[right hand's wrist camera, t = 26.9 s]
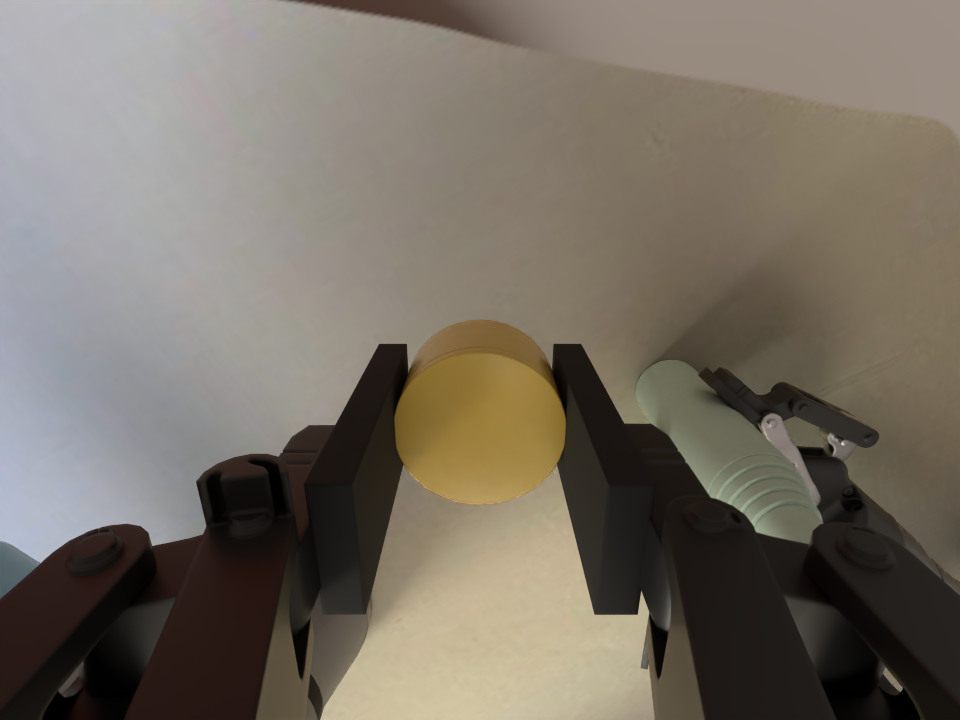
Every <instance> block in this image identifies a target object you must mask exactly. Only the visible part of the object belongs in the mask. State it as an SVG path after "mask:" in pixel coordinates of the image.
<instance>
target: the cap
mask: <svg viewBox="0 0 960 720" xmlns="http://www.w3.org/2000/svg"><path fill="white" fill-rule="evenodd" d="M394 421H395V437H396V448H397V451H398V454H399V456H400V458H401V460H402V462H403V464H404V465H405V467H406V468H407V470H408V471H409V472H410V474H411V475H412V476H413V477H414V478H415V479H416V480H417V481H418V482H419V483H421V484H422V485H423V486H424V487H426V488H427V489H429V490H430V491H432V492H433V493H435V494H437V495H439V496H441V497H444V498H446V499H449V500H452V501H456V502H460V503H465V504H473V505H487V504H496V503H501V502H506V501H509V500H512V499H515V498H517V497H519V496H522V495H524V494H526V493H527V492H529V491H531V490H532V489H534V488H535V487H536V486H538V485H539V484H540V483H541V482H542V481H543V480H544V479H545V478H546V477H547V476H548V475H549V474H550V473H551V472H552V470H553V469H554V468H555V466H556V464H557V463H558V461H559V459H560V457H561V454H562V452H563V449H564V445H565V432H566V416H565V411H564V407H563V404H562V401H561V398H560V394H559V391H558V388H557V385H556V382H555V378H554V375H553V372H552V369H551V366H550V364H549V361H548V359H547V357H546V355H545V354H544V352H543V351H542V349H541V348H540V347H539V345H538V344H537V343H536V342H535V341H534V340H533V339H532V338H530V337H529V336H528V335H526V334H525V333H524V332H522V331H520V330H518V329H517V328H515V327H512V326H510V325H508V324H504V323H501V322H497V321H490V320H471V321H464V322H460V323H457V324H454V325H451V326H449V327H447V328H445V329H443V330H441V331H439V332H438V333H436V334H435V335H434V336H432V337H431V338H430V339H429V340H428V341H427V342H426V343H425V344H424V345H423V346H422V347H421V349H420V350H419V351H418V353H417V355H416V356H415V358H414V360H413V362H412V365H411V367H410V370H409V373H408V376H407V378H406V381H405V384H404V387H403V390H402V392H401V395H400V398H399V401H398V404H397V407H396V410H395V414H394Z"/></svg>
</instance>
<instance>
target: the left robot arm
mask: <svg viewBox="0 0 960 720" xmlns="http://www.w3.org/2000/svg"><path fill="white" fill-rule="evenodd" d="M698 376H699V377H700V378H701V379H702V380H703V381H704V382H705V383H706V384H707V385H708V386H709V387H711V388H712V389H713V390H714V391H715V392H716V393H717V394H718V395H719V396H721V397H722V398H723V399H724V400H725V401H726V402H727V403H729V404H730V405H731V406H732V407H733V408H734V409H735V410H736V411H738V412H739V413H740V414H741V415H743V416H744V417H745V418H746V419H747V420H748V421H749V422H750V423H751V424H752V425H753V426H754V427H755V428H756V429H757V430H758V431H759V432H760V433H761V434H762V435H763V436H765V437H766V438H767V439H768V440H769V441H770V442H771V443H772V444H773V445H774V446H775V447H776V448H777V449H778V450H779V451H780V452H781V453H782V454H783V455H784V456H785V457H786V458H787V459H788V460H790V461H791V462H792V463H793V465H794V466H795V467H796V469H797V470H798V472H799V473H800V474H801V475H802V477H803V478H804V480H805V482H806V485H807V487H808V489H809V490H810V493H811V496H812V498H813V499H814V501H815V504H816V507H817V509H818V510H819V512H820V514H821V516H822V521H823V523H829V522H843V523H852V524H857V525H861V526H865V527H868V528H871V529H873V530H875V531H877V532H879V533H881V534H883V535H885V536H888V537H890V538H892V539H893V540H895V541H896V542H898V543H899V544H900V545H902V546H903V547H905V548H906V549H907V550H909V551H910V552H911V553H912V554H913V555H915V556H916V557H917V558H918V559H919V560H920V561H921V562H922V563H924V564H925V565H926V566H927V567H928V568H929V569H930V570H932V571H933V572H934V573H935V574H936V575H937V576H938V577H940V578H941V579H942V580H943V581H944V582H945V583H946V584H948V585H949V586H950V587H951V588H952V589H953V590H954V591H956V592H957V593H958V594H959V595H960V581H958V580H956V579H954V578H953V577H951V576H950V575H949V574H948V573H947V572H946V571H945V570H944V569H942V568H941V567H940V566H939V565H938V564H937V563H936V562H935V561H934V560H932V559H931V558H930V557H929V556H928V555H927V553H926V552H925V550H924V549H923V548H922V547H921V545H920V544H919V543H918V542H917V541H916V539H915V538H914V537H913V536H912V535H911V534H910V533H908V532H907V531H906V530H905V529H904V528H903V527H902V526H901V525H900V524H899V523H898V522H896V520H895V519H894V518H893V517H892V516H891V515H890V514H888V513H887V512H885V511H884V510H883V509H882V508H881V507H880V506H879V505H878V504H876V503H875V502H874V501H873V500H872V499H871V498H870V497H869V496H868V495H867V494H865V493H864V492H863V491H862V490H861V489H860V488H859V487H858V486H857V485H855V484H854V483H853V482H852V481H851V480H850V479H849V477H848V471H847V467H846V465H845V464H844V461H845V459H846V458H847V457H848V456H849V455H850V453H851V452H852V451H853V450H854V449H855V447H856V446H857V445H859V446H861V447H864V448H867V447H871V446H873V445H874V444H876V442H877V441H878V439H879V434H878V432H877V431H875V430H874V429H872V428H871V427H869V426H868V425H866V424H865V423H863V422H862V421H861V420H859V419H858V418H856V417H855V416H853V415H852V414H850V413H849V412H847V411H845V410H843V409H840V408H838V407H836V406H834V405H832V404H830V403H828V402H826V401H824V400H821V399H819V398H817V397H815V396H813V395H811V394H809V393H807V392H805V391H802V390H800V389H798V388H796V387H794V386H792V385H790V384H788V383H785V382H780V383H777V384H776V385H774V386H773V388H772V390H771V392H770V393H768V394H765V395H756V394H755V393H754V392H752V391H751V390H750V389H749V388H748V387H747V386H746V385H745V384H744V383H742V382H741V381H740V380H739V379H738V378H737V377H736V376H734V375H733V374H732V373H731V372H730V371H728V370H726V369H723V368H718V369H717V370H716V371H715V372H714V373H712V372H711V371H710V370H709V369H708V368H707V367H706V368H705V369H704V370H703V371H702V372H701V373H700V374H698ZM793 416H796V417H798V418H801V419H803V420H805V421H807V422H809V423H811V424H814V425H816V426H818V427H819V435H820V436H821V437H822V438H823V439H824V440H825V446H824V448H819V447H802V446H796V445H795V444H794V443H793V442H792V440H791V439H790V436H789V434H788V432H787V430H786V427H785V425H784V423H783V421H784V420H787V419H789V418H791V417H793Z"/></svg>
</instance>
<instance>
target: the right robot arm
mask: <svg viewBox="0 0 960 720" xmlns="http://www.w3.org/2000/svg"><path fill="white" fill-rule="evenodd" d="M552 372H553V375H554V378H555V382H556V385H557V388H558V391H559V394H560V398H561V401H562V404H563V407H564V411H565V416H566V432H565V445H564V449H563V452H562V454H561V457H560V459H559V461H558V463H557V466H558V470H559V474H560V478H561V482H562V486H563V490H564V494H565V498H566V502H567V506H568V510H569V514H570V518H571V522H572V526H573V530H574V534H575V538H576V542H577V546H578V550H579V554H580V558H581V562H582V566H583V570H584V574H585V578H586V582H587V586H588V590H589V594H590V598H591V602H592V606H593V610H594V614H595V615H638V608H639V601H640V595H641V591H642V593H643V596H644V599H645V601H646V604H647V607H648V609H649V618H648V625H647V631H646V637H645V643H644V650H643V656H642V663H641V668H643V669H648V664H649V669H650V678H651V688H652V697H653V706H654V716H655V720H960V595H959V594H958V593H957V592H956V591H954V590H953V589H952V588H951V587H950V586H949V585H948V584H946V583H945V582H944V581H943V580H942V579H941V578H940V577H938V576H937V575H936V574H935V573H934V572H933V571H932V570H930V569H929V568H928V567H927V566H926V565H925V564H924V563H922V562H921V561H920V560H919V559H918V558H917V557H916V556H915V555H913V554H912V553H911V552H910V551H909V550H907V549H906V548H905V547H903V546H902V545H900V544H899V543H898V542H896V541H895V540H893V539H892V538H890V537H888V536H885V535H883V534H881V533H879V532H877V531H875V530H873V529H871V528H868V527H865V526H861V525H857V524H852V523H843V522H829V523H824V524H820V525H819V526H818V527H816V528H815V529H814V530H813V532H812V535H811V539H810V542H809V544H806V543H801V542H796V541H791V540H787V539H782V538H777V537H772V536H768V535H765V534H761V533H758V532H756V531H755V528H754V526H753V524H752V523H751V522H750V520H749V519H748V518H747V516H746V515H745V514H743V513H742V512H741V511H739V510H738V509H737V508H735V507H734V506H732V505H730V504H728V503H725V502H723V501H721V500H718V499H715V498H711V497H710V496H709V494H708V493H707V491H706V490H705V488H704V487H703V485H702V484H701V482H700V481H699V479H698V478H697V476H696V475H695V474H694V472H693V471H692V469H691V468H690V466H689V465H688V463H685V459H684V457H683V456H682V454H681V453H680V451H678V448H677V447H676V445H675V444H674V443H673V441H672V440H671V438H670V437H669V435H667V434H666V433H664V432H663V431H661V430H660V429H659V428H657V427H656V426H654V425H653V424H624V422H623V421H622V419H621V417H620V415H619V413H618V411H617V409H616V408H615V406H614V404H613V402H612V400H611V398H610V397H609V395H608V393H607V391H606V389H605V387H604V385H603V384H602V382H601V380H600V378H599V376H598V374H597V372H596V371H595V369H594V367H593V365H592V363H591V361H590V359H589V358H588V356H587V354H586V352H585V350H584V348H583V347H582V345H581V344H554V346H553V364H552ZM407 376H408V357H407V344H379V345H378V347H377V349H376V351H375V353H374V355H373V357H372V358H371V360H370V362H369V364H368V366H367V368H366V369H365V371H364V373H363V375H362V377H361V379H360V381H359V382H358V384H357V386H356V388H355V390H354V392H353V394H352V395H351V397H350V399H349V401H348V403H347V405H346V407H345V408H344V410H343V412H342V414H341V416H340V418H339V419H338V421H337V423H336V425H309V426H307V427H306V428H305V429H303V430H302V431H300V432H299V433H297V434H296V435H294V436H293V437H292V438H291V439H290V441H289V442H288V444H287V445H286V447H285V448H284V450H283V453H281V454H280V456H279V457H277V456H273V455H269V454H249V455H244V456H239V457H234V458H231V459H229V460H226V461H223V462H221V463H218V464H217V465H215V466H213V467H212V468H210V469H209V470H207V471H205V472H204V473H203V474H202V476H201V477H200V478H199V479H198V480H197V481H196V483H197V487H198V491H199V496H200V500H201V504H202V508H203V513H204V517H205V521H206V525H207V527H206V529H205V531H204V534H203V535H200V536H196V537H193V538H189V539H184V540H180V541H175V542H170V543H165V544H161V545H156V546H152V544H151V541H150V537H149V534H148V532H147V531H146V530H144V529H143V528H142V527H141V526H136V525H131V524H121V525H110V526H106V527H101V528H99V529H98V528H97V529H94V530H91V531H89V532H86V533H85V534H83V535H81V536H79V537H76V538H74V539H72V540H70V541H68V542H67V543H66V544H64V545H63V546H61V547H60V548H59V549H57V550H56V551H54V552H53V553H52V554H51V555H50V556H48V557H47V558H46V559H45V560H44V561H43V562H42V563H39V562H38V561H36V560H34V559H33V558H31V557H30V556H28V555H27V554H25V553H24V552H22V551H20V550H19V549H17V548H16V547H14V546H13V545H10V544H8V543H6V542H2V541H0V720H320V718H321V715H322V712H323V708H324V706H325V705H326V703H327V702H328V700H329V698H330V697H331V695H332V694H333V692H334V691H335V689H336V688H337V686H338V684H339V683H340V681H341V680H342V678H343V677H344V675H345V674H346V672H347V670H348V669H349V667H350V666H351V664H352V663H353V661H354V660H355V658H356V657H357V655H358V653H359V651H360V649H361V647H362V645H363V643H364V640H365V637H366V634H367V630H368V626H369V621H370V616H371V601H370V596H371V592H372V588H373V584H374V580H375V576H376V572H377V568H378V564H379V560H380V556H381V552H382V548H383V544H384V540H385V536H386V532H387V528H388V524H389V520H390V516H391V512H392V507H393V503H394V499H395V495H396V491H397V487H398V483H399V479H400V475H401V471H402V467H403V462H402V460H401V458H400V456H399V454H398V451H397V448H396V437H395V421H394V414H395V410H396V407H397V404H398V401H399V398H400V395H401V392H402V390H403V387H404V384H405V381H406V378H407ZM885 667H886V668H887V669H888V670H889V671H890V673H891V674H892V675H893V676H894V677H895V679H896V680H897V681H898V682H899V683H900V685H901V686H902V687H903V690H902V691H901V692H899V691H898V690H897V689H896V688H895V687H894V686H893V685H892V684H891V683H890V682H889V681H888V680H887V678H886V677H885V676H884V675H883V671H884V669H885Z"/></svg>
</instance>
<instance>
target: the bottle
mask: <svg viewBox="0 0 960 720" xmlns="http://www.w3.org/2000/svg"><path fill="white" fill-rule="evenodd" d="M698 374H699V373H698V372H697V371H696V370H695V369H694V368H693V367H692V366H690V365H689V364H687V363H685V362H683V361H680V360H664V361H660V362H657V363H655V364H653V365H652V366H650V367H649V368H648V369H646V370H645V371H644V372H643V374H642V375H641V376H640V378H639V380H638V382H637V385H636V390H635V395H636V400H637V403H638V405H639V406H640V408H641V409H642V411H643V412H644V414H645V416H646V417H647V419H648V420H649V422H650V423H651V424H653V425H654V426H656V427H657V428H659V429H660V430H661V431H663V432H664V433H666V434H667V435H669V437H670V438H671V440H672V441H673V443H674V444H675V445H676V447H677V448H678V451H680V453H681V454H682V456H683V457H684V459H685V463H688V465H689V466H690V468H691V469H692V471H693V472H694V474H695V475H696V476H697V478H698V479H699V481H700V482H701V484H702V485H703V487H704V488H705V490H706V491H707V493H708V494H709V496H710V497H711V498H715V499H718V500H721V501H723V502H725V503H728V504H730V505H732V506H734V507H735V508H737V509H738V510H739V511H741V512H742V513H743V514H745V515H746V516H747V518H748V519H749V520H750V522H751V523H752V524H753V526H754V528H755V531H756V532H758V533H761V534H765V535H768V536H772V537H777V538H782V539H787V540H791V541H796V542H801V543H806V544H809V542H810V539H811V535H812V532H813V530H814V529H815V528H816V527H818V526H819V525H820V524H824V523H823V521H822V516H821V514H820V512H819V510H818V509H817V507H816V504H815V501H814V499H813V498H812V496H811V493H810V490H809V489H808V487H807V485H806V482H805V480H804V478H803V477H802V475H801V474H800V473H799V472H798V470H797V469H796V467H795V466H794V465H793V463H792V462H791V461H790V460H788V459H787V458H786V457H785V456H784V455H783V454H782V453H781V452H780V451H779V450H778V449H777V448H776V447H775V446H774V445H773V444H772V443H771V442H770V441H769V440H768V439H767V438H766V437H765V436H763V435H762V434H761V433H760V432H759V431H758V430H757V429H756V428H755V427H754V426H753V425H752V424H751V423H750V422H749V421H748V420H747V419H746V418H745V417H744V416H743V415H741V414H740V413H739V412H738V411H736V410H735V409H734V408H733V407H732V406H731V405H730V404H729V403H727V402H726V401H725V400H724V399H723V398H722V397H721V396H719V395H718V394H717V393H716V392H715V391H714V390H713V389H712V388H711V387H709V386H708V385H707V384H706V383H705V382H704V381H703V380H702V379H701V378H700V377H699V376H698Z"/></svg>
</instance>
